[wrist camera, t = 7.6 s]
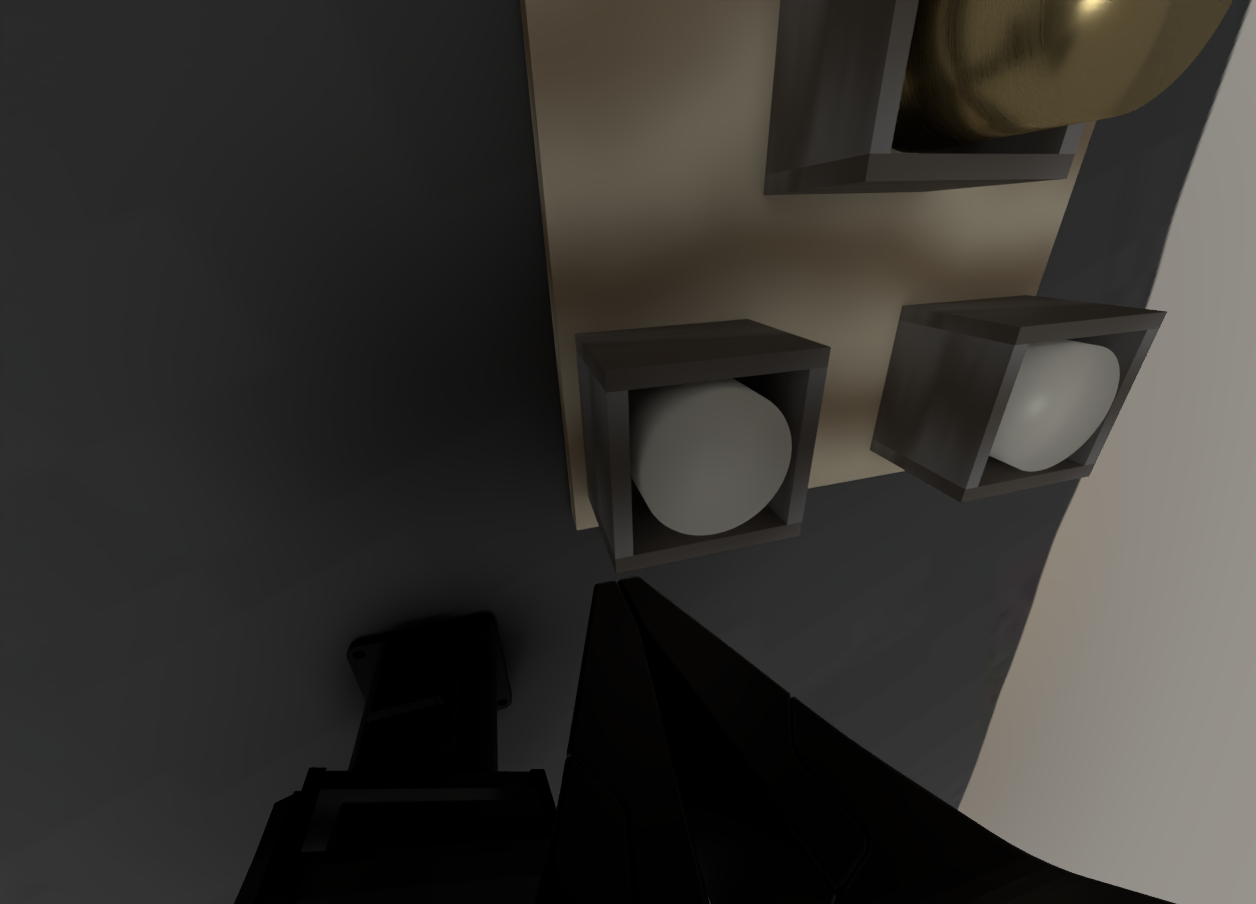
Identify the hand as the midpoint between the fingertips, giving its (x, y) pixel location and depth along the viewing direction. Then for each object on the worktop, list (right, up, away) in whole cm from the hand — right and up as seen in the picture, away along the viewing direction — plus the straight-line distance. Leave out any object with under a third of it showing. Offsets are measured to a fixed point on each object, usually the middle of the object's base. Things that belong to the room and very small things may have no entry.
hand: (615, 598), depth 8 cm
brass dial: (+9, +14, +5) cm, 17 cm away
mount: (+8, +10, +11) cm, 17 cm away
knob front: (+2, +4, +10) cm, 11 cm away
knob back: (+15, +6, +13) cm, 21 cm away
